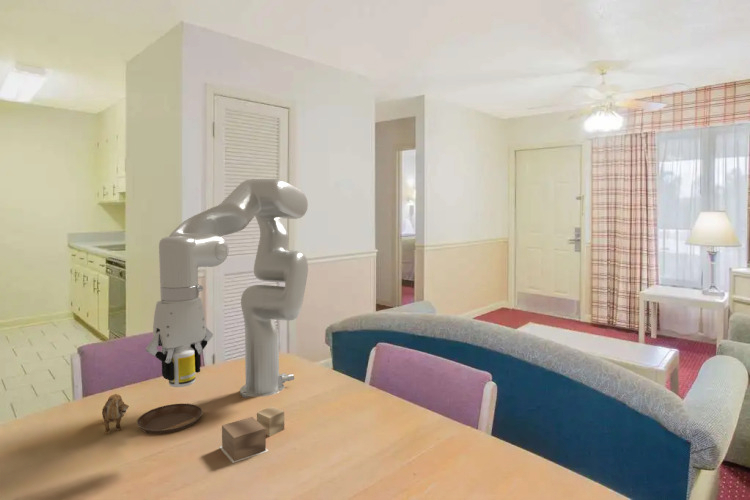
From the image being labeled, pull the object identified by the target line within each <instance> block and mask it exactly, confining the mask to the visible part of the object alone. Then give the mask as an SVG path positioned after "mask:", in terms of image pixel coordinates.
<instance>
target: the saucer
mask: <svg viewBox="0 0 750 500" xmlns="http://www.w3.org/2000/svg"><path fill="white" fill-rule="evenodd" d="M202 414H203V409H202V408H201V407H200V406H198V405H196V404H192V403H173V404H166V405H162V406H159V407H155V408H153V409H150V410H148V411H146V412H144V413H142V414H141V415H140V416H139V417H138V419H136V425H137V426H138V429H140V430H141V431H143V432H144V433H146V434H169V433H174V432H178V431H181V430H184V429H187V428H189V427H191V426H193V425H194V424H195V423H197V422H198V421H199V419H200V418H201V417H202ZM193 419H194V420H193ZM191 420H192V421H191ZM188 421H190V422H188ZM185 422H188V423H186V424H183V423H185ZM180 424H183V425H180ZM178 425H180V426H178ZM174 426H175V427H174ZM172 427H173V428H172Z"/></svg>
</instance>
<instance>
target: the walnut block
mask: <svg viewBox="0 0 750 500" xmlns="http://www.w3.org/2000/svg"><path fill="white" fill-rule="evenodd" d="M266 437H267V435H266V428H265V427H263V426H262V425H261V424H260V423H259V422H258V421H257V419H256V418H254V417H253V416H250V417H246V418H244V419H239V420H236V421H232V422H228V423H226V424H222V425H221V446H222V448H223V449H224V450H225V451H226V452H227V453H228V454H229V456H230V457H231V458H232V459H233V460H234V461H236V460H239V459H242V458H245V457H248V456H251V455H254V454H257V453H260V452H263V451H266V449H267V445H266V444H267V443H266V442H267V441H266V440H267V438H266Z"/></svg>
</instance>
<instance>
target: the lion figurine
mask: <svg viewBox="0 0 750 500" xmlns="http://www.w3.org/2000/svg"><path fill="white" fill-rule="evenodd" d="M127 410H129V405H128V404H126V403H125V402H124V401H123V399H122V396H121V395H120V394H117V393H114V394H112V395H110V396H109V397H108V398H107V401H105V404H104V405H103V408H102V410H101V411H102V413H101V414H102V419H103V424H104V428H105V430H104V431H103V434H104V435H106V434H107V435H108V434H110V432H111V428H110V423H115V429H116V431H121V430H123V427H122V426H121V420H122V417H123V416H124V415H125V414H126V413H127Z"/></svg>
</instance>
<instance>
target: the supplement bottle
mask: <svg viewBox="0 0 750 500" xmlns="http://www.w3.org/2000/svg"><path fill="white" fill-rule="evenodd" d="M190 346H191V344H188V345H184V346H181V347H178V348H174V351H173V355H172V359H171V362H173V363H174V380H172V381H169V380H168V384H169V386H170V387H172V388H184V387H188V386H191V385H192V384H194V383H195V382H196V372H195V352H194V349H193V348H191V347H190Z"/></svg>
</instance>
